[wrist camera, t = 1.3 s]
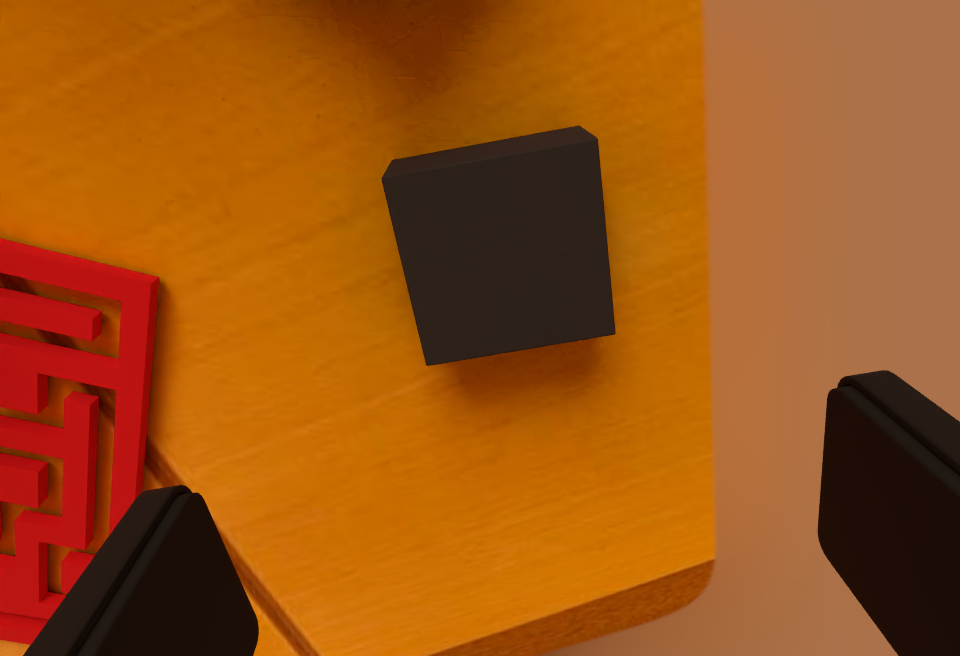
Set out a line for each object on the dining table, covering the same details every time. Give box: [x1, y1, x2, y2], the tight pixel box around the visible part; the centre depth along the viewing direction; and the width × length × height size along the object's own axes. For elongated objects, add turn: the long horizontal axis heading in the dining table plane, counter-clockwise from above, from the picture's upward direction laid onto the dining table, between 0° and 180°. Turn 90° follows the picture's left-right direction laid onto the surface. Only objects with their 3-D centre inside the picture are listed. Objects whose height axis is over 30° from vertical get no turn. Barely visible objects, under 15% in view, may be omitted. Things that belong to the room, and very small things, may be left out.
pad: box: [382, 126, 615, 366], centre depth 21 cm, size 6×6×3 cm
